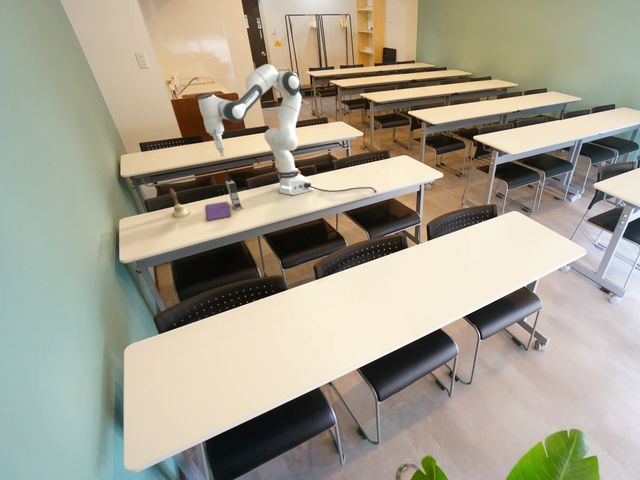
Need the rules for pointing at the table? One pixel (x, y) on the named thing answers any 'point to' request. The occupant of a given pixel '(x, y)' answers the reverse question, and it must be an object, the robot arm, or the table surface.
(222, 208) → the mat
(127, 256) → the table surface
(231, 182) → the vintage mobile phone
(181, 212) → the hand bell
